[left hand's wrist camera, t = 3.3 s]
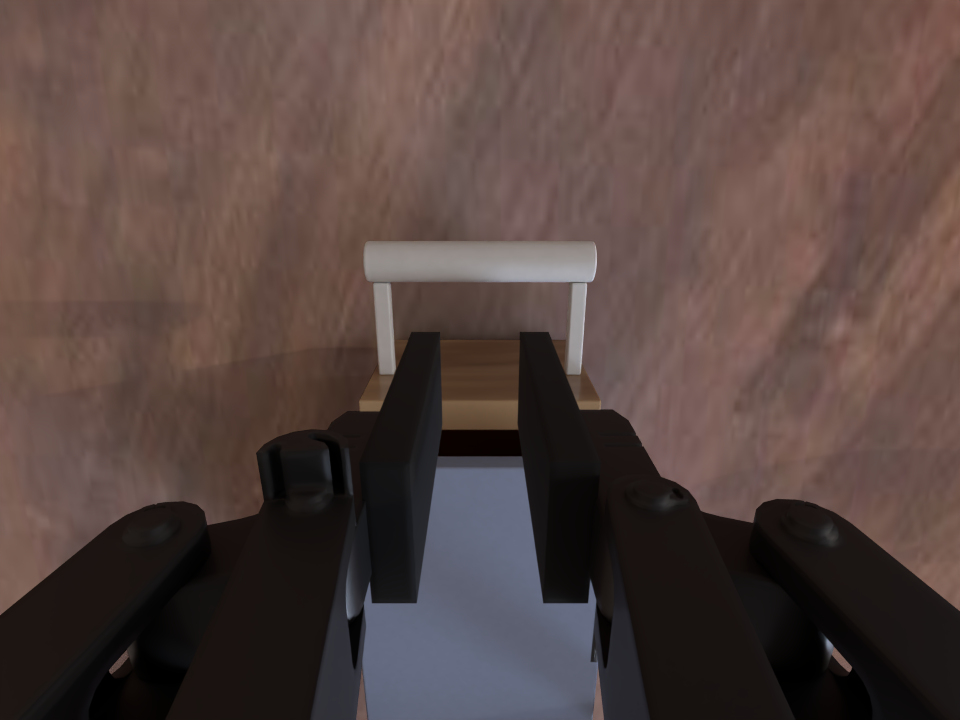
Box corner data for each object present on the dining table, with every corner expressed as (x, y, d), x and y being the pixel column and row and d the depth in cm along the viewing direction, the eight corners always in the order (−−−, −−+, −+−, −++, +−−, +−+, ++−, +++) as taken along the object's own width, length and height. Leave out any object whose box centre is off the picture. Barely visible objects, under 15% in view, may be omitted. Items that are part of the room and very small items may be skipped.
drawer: (382, 227, 24) (345, 252, 17) (577, 227, 24) (614, 252, 17) (405, 590, 31) (384, 706, 24) (554, 590, 31) (575, 706, 24)
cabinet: (383, 374, 27) (340, 467, 19) (576, 374, 27) (619, 468, 19) (400, 621, 33) (373, 777, 25) (559, 621, 33) (586, 776, 25)
